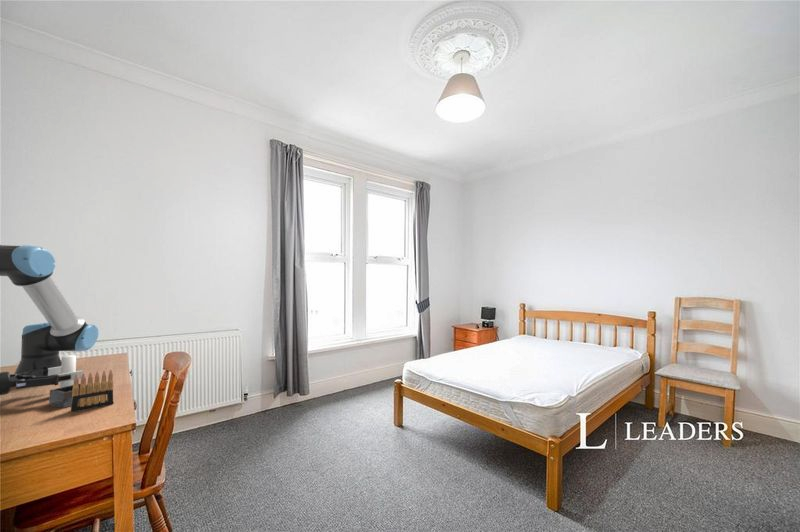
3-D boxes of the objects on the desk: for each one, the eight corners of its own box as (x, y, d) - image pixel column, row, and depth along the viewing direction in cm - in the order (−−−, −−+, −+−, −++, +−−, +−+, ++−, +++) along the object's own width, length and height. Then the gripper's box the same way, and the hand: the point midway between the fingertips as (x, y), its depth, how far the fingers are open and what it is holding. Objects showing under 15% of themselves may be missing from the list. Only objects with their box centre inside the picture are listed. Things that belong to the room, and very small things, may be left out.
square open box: (49, 404, 117) (49, 390, 118) (77, 397, 125) (78, 383, 125) (63, 408, 115) (64, 393, 115) (91, 400, 122) (92, 386, 123)
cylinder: (57, 394, 127) (59, 357, 128) (70, 391, 131) (72, 354, 132) (63, 396, 126) (65, 358, 127) (77, 392, 130) (78, 355, 130)
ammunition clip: (70, 412, 112) (72, 375, 112) (70, 410, 113) (72, 374, 113) (113, 404, 119) (114, 369, 120) (112, 402, 120) (114, 368, 121)
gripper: (-16, 389, 120) (66, 375, 137) (-3, 405, 106) (86, 387, 124) (-15, 368, 120) (67, 356, 138) (-2, 380, 106) (87, 366, 124)
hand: (76, 371), depth 131 cm, fingers open, 13 cm apart
